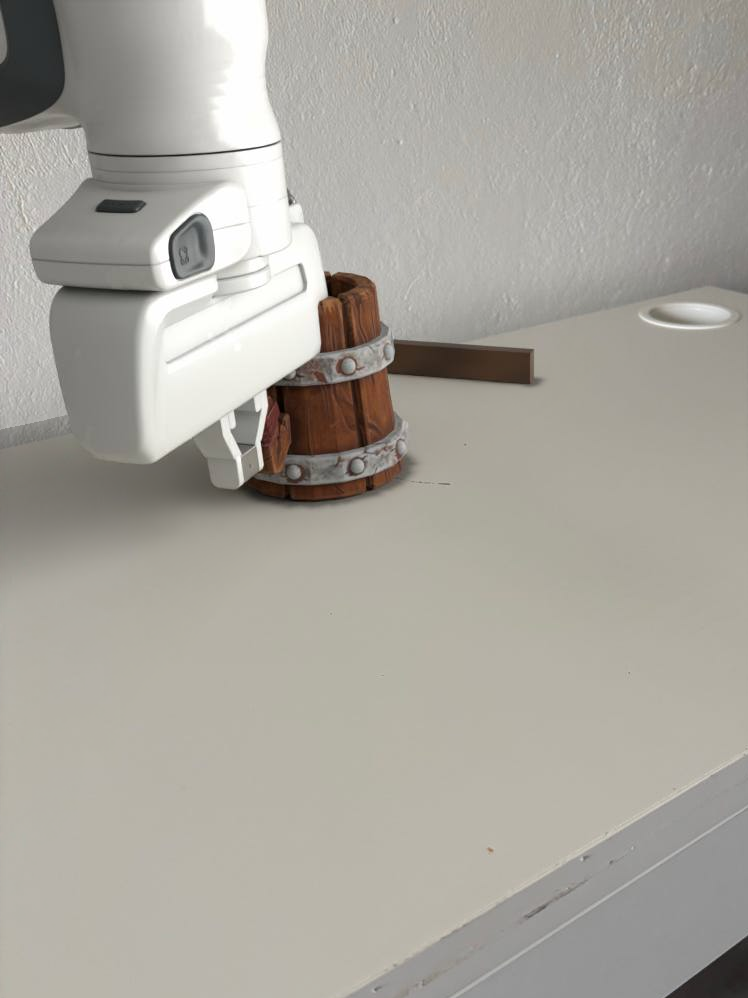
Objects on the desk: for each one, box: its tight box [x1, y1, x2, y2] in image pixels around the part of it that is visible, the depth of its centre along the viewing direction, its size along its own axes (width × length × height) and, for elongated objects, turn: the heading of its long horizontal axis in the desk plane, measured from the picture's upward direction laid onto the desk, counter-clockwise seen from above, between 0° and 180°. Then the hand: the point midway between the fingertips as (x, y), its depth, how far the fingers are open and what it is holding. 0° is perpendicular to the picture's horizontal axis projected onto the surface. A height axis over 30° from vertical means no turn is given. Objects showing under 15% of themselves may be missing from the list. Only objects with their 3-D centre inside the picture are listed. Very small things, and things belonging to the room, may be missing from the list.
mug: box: [245, 270, 410, 502], centre depth 64 cm, size 12×14×15 cm
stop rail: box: [386, 338, 535, 385], centre depth 84 cm, size 14×1×2 cm, turn 72°
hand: (238, 479), depth 57 cm, fingers closed
